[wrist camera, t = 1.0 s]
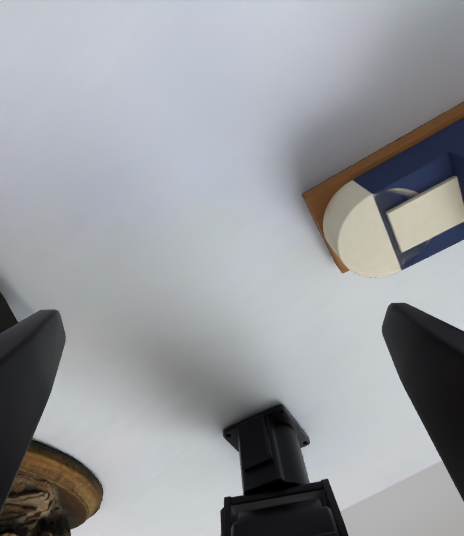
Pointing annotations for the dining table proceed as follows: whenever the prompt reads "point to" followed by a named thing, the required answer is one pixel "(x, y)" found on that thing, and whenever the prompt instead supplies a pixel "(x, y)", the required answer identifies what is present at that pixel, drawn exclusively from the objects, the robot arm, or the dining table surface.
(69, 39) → the dining table surface
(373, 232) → the toy high-top shoe
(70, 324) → the dining table surface
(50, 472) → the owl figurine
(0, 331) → the cowboy boot
